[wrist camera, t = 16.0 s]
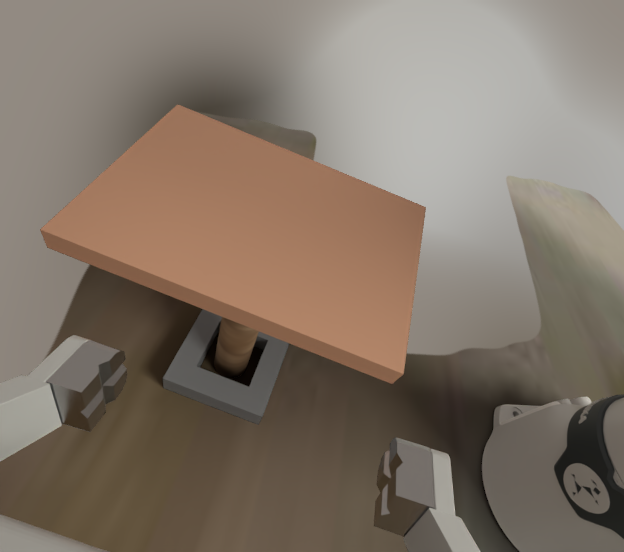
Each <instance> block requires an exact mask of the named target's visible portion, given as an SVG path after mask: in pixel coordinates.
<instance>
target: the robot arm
mask: <svg viewBox="0 0 624 552" xmlns="http://www.w3.org/2000/svg"><path fill="white" fill-rule="evenodd" d="M125 359H126V358H125V352H124V351H121V350H118V349H115V348H112V347H109V346H106V345H103V344H100V343H97V342H94V341H92V340H89V339H85V338H82V337H79V336H76V335H73V336H71V337H69V338H67V339H66V340H65V341H64V342H63V343H62V344H61V345H59V346H58V347H57V348H56V349H55V350H54V351H53V352H52V353H51V354H50V355H49V356H48V357H47V358H46V359H45V360H43V361H42V362H41V363H40V364H39V365H38V366H37V367H36V368H35V369H34V370H33V371H32V372H31V373H30V374H29V375H27V376H24V375H20V376H17V377H15V378H12V379H10V380H7V381H4V382H2V383H0V461H2V460H3V459H5V458H7V457H9V456H10V455H12V454H14V453H16V452H17V451H19V450H21V449H22V448H24V447H26V446H28V445H29V444H31V443H33V442H34V441H36V440H38V439H40V438H41V437H43V436H45V435H46V434H48V433H50V432H52V431H53V430H55V429H57V428H58V427H60V426H62V424H65V425H68V426H72V427H75V428H78V429H82V430H85V431H88V432H91V431H92V429H93V428H94V427H95V426H96V424H97V423H98V422H99V420H100V419H101V418H102V416H103V415H104V414H105V413H106V404H107V403H109V402H112V401H114V400H116V398H117V397H118V395H119V394H120V393H121V391H122V389H123V387H124V385H125V383H126V379H127V369H126V368H125V366H124V365H123V364H122V363H123V362H124V361H125ZM513 414H514V415H515V417H514V415H513ZM482 476H483V483H484V488H485V492H486V496H487V499H488V502H489V505H490V507H491V510H492V512H493V514H494V516H495V518H496V520H497V522H498V524H499V525H500V527H501V529H502V530H503V532H504V533H505V535H506V536H507V537H508V539H509V540H510V541H511V542H512V544H513V545H514V546H515V547H516V548H517V549H518V550H519V551H520V552H624V395H615V396H612V397H609V398H608V397H606V398H602V399H599V400H597V401H594V402H591V400H590V399H589V398H588V397H579V398H575V399H572V400H569V399H562V400H558V401H555V402H551V403H548V404H546V405H543V406H530V405H511V404H504V405H501V406H498V407H496V409H495V411H494V422H493V432H492V434H491V436H490V438H489V440H488V442H487V444H486V446H485V449H484V453H483V459H482ZM377 486H378V488H379V490H380V492H381V493H380V495H379V496H378V498H377V499H376V501H375V515H374V526H375V527H378V528H381V529H384V530H386V531H389V532H392V533H395V534H397V535H400V536H403V537H404V538H403V539H404V542H405V545H406V547H407V550H408V552H480V550H479V548H478V546H477V545H476V543H475V541H474V540H473V538H472V536H471V534H470V533H469V531H468V529H467V528H466V526H465V524H464V523H463V521H462V519H461V518H460V517H457V516H455V506H454V496H453V485H452V474H451V463H450V457H449V455H448V454H447V453H444V452H441V451H437V450H434V449H431V448H429V447H426V446H423V445H420V444H416V443H413V442H410V441H406V440H403V439H400V438H396V437H395V438H393V440H392V441H391V443H390V451H387V452H385V453H384V455H383V457H382V459H381V462H380V465H379V469H378V475H377ZM0 552H108V551H105V550H102V549H99V548H96V547H93V546H90V545H88V544H85V543H82V542H79V541H76V540H73V539H70V538H67V537H65V536H62V535H59V534H56V533H53V532H50V531H47V530H44V529H42V528H39V527H36V526H33V525H30V524H27V523H24V522H21V521H18V520H16V519H13V518H10V517H7V516H4V515H1V514H0Z"/></svg>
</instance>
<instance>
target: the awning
mask: <svg viewBox="0 0 624 552" xmlns="http://www.w3.org/2000/svg"><path fill="white" fill-rule="evenodd" d="M425 210H426V207H424V206H421V205H419V204H417V203H414V202H412V201H409V200H407V199H405V198H402V197H400V196H397V195H395V194H392V193H390V192H388V191H385V190H383V189H380V188H378V187H376V186H373V185H371V184H368V183H366V182H364V181H361V180H359V179H356V178H354V177H352V176H349V175H347V174H344V173H342V172H339V171H337V170H335V169H332V168H330V167H327V166H325V165H323V164H320V163H318V162H315V161H313V160H311V159H308V158H306V157H303V156H301V155H298V154H296V153H294V152H291V151H289V150H286V149H284V148H282V147H279V146H277V145H274V144H272V143H270V142H267V141H265V140H262V139H260V138H257V137H255V136H253V135H250V134H248V133H245V132H243V131H241V130H238V129H236V128H233V127H231V126H229V125H226V124H224V123H221V122H219V121H216V120H214V119H212V118H209V117H207V116H204V115H202V114H200V113H197V112H195V111H192V110H190V109H188V108H185V107H183V106H180V105H176V106H175V107H174V108H173V109H172V110H171V111H170V112H169V113H168V114H167V115H165V117H163V118H162V119H161V120H160V121H159V122H158V123H157V124H156V125H154V126H153V127H152V128H151V129H150V130H149V131H148V132H147V133H146V134H145V135H143V137H141V138H140V139H139V140H138V141H137V142H136V143H135V144H134V145H133V146H131V147H130V148H129V149H128V150H127V151H126V152H125V153H124V154H123V155H122V156H121V157H119V158H118V159H117V160H116V161H115V162H114V163H113V164H112V165H110V166H109V167H108V168H107V169H106V170H105V171H104V172H103V173H102V174H101V175H100V176H98V177H97V178H96V179H95V180H94V181H93V182H92V183H91V184H90V185H88V186H87V187H86V188H85V189H84V190H83V191H82V192H81V193H80V194H79V195H78V196H76V197H75V198H74V199H73V200H72V201H71V202H70V203H69V204H68V205H67V206H65V208H63V209H62V210H61V211H60V212H59V213H58V214H57V215H56V216H54V217H53V218H52V219H51V220H50V221H49V222H48V223H47V224H46V225H45V226H43V227H42V228H41V229H40V230H41V233H42V235H43V237H44V240H45V243H46V245H47V248H50V249H52V250H55V251H58V252H60V253H62V254H65V255H67V256H70V257H73V258H75V259H78V260H80V261H83V262H85V263H88V264H90V265H93V266H95V267H98V268H100V269H103V270H105V271H108V272H110V273H113V274H115V275H118V276H121V277H123V278H126V279H128V280H131V281H133V282H136V283H138V284H141V285H143V286H146V287H148V288H151V289H153V290H156V291H158V292H161V293H163V294H166V295H168V296H171V297H174V298H176V299H179V300H181V301H184V302H186V303H189V304H191V305H194V306H196V307H199V308H201V309H202V311H201V313H200V314H199V316H198V318H197V320H196V321H195V323H194V325H193V327H192V328H191V330H190V332H189V333H188V335H187V337H186V339H185V340H184V342H183V344H182V346H181V347H180V349H179V351H178V353H177V354H176V356H175V358H174V360H173V361H172V363H171V365H170V367H169V368H168V370H167V372H166V374H165V375H164V377H163V388H165V389H167V390H170V391H173V392H175V393H178V394H180V395H183V396H185V397H188V398H191V399H193V400H196V401H198V402H201V403H204V404H206V405H209V406H211V407H214V408H216V409H219V410H222V411H224V412H227V413H229V414H232V415H235V416H237V417H240V418H242V419H245V420H247V421H250V422H253V423H255V424H259V422H260V421H261V419H262V417H263V414H264V411H265V409H266V406H267V403H268V400H269V398H270V395H271V392H272V390H273V387H274V384H275V381H276V379H277V376H278V373H279V370H280V368H281V365H282V362H283V359H284V357H285V354H286V351H287V349H288V346H289V343H290V344H292V345H295V346H297V347H300V348H302V349H305V350H307V351H310V352H312V353H315V354H317V355H320V356H322V357H325V358H328V359H330V360H333V361H335V362H338V363H340V364H343V365H345V366H348V367H350V368H353V369H355V370H358V371H360V372H363V373H365V374H368V375H370V376H373V377H375V378H378V379H381V380H383V381H386V382H388V383H391V384H393V383H394V382H395V381H396V380H397V379H398V378H400V377H401V376H402V375H403V374H404V367H405V360H406V352H407V345H408V337H409V330H410V322H411V314H412V308H413V300H414V292H415V285H416V277H417V270H418V263H419V255H420V248H421V240H422V233H423V225H424V218H425ZM222 317H224V318H227V319H229V320H232V321H234V322H237V323H239V324H242V325H244V326H247V327H249V328H252V329H254V330H257V331H259V333H258V335H257V338H256V341H255V344H254V347H257V348H259V349H262V350H264V351H263V354H262V356H261V359H260V361H259V364H258V366H257V369H256V371H255V373H254V376H253V378H252V381H251V383H250V386H249V387H248V386H246V385H243V384H241V383H238V382H235V381H233V380H230V379H228V378H225V377H223V376H220V375H218V374H215V373H212V372H210V371H207V370H205V369H202V368H200V366H201V364H202V362H203V360H204V358H205V357H206V355H207V353H208V351H209V349H210V347H211V345H212V343H213V341H214V339H215V337H216V335H217V333H218V332H219V331H220V325H221V319H222Z"/></svg>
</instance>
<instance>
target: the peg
mask: <svg viewBox="0 0 624 552" xmlns="http://www.w3.org/2000/svg"><path fill="white" fill-rule="evenodd" d="M258 333H259V331H257V330H254V329H252V328H249V327H247V326H244V325H242V324H239V323H237V322H234V321H232V320H229V319H227V318H224V317H222V319H221V325H220V331H219V336H218V342H217V348H216V354H215V359H214V367H215V369H216V371H217V373H218V374H219V375H221V376H223V377H225V378H229V379H232V378H237V377H239V376H241V375H242V374H243V373H244V372H245V370H246V368H247V365H248V362H249V359H250V356H251V353H252V350H253V347H254V344H255V341H256V338H257V335H258Z"/></svg>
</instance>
